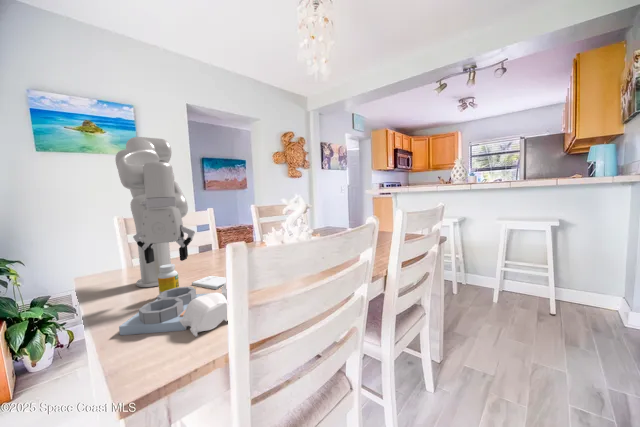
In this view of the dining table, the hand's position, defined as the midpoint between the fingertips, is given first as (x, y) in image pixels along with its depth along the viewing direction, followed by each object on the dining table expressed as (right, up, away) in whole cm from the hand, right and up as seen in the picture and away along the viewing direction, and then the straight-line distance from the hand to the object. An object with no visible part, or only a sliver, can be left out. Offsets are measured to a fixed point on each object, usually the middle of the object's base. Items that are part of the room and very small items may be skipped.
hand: (167, 261), depth 80 cm
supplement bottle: (0, -11, +1) cm, 11 cm away
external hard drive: (+9, -11, +12) cm, 19 cm away
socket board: (+8, -12, -12) cm, 19 cm away
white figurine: (+21, -12, -16) cm, 29 cm away
